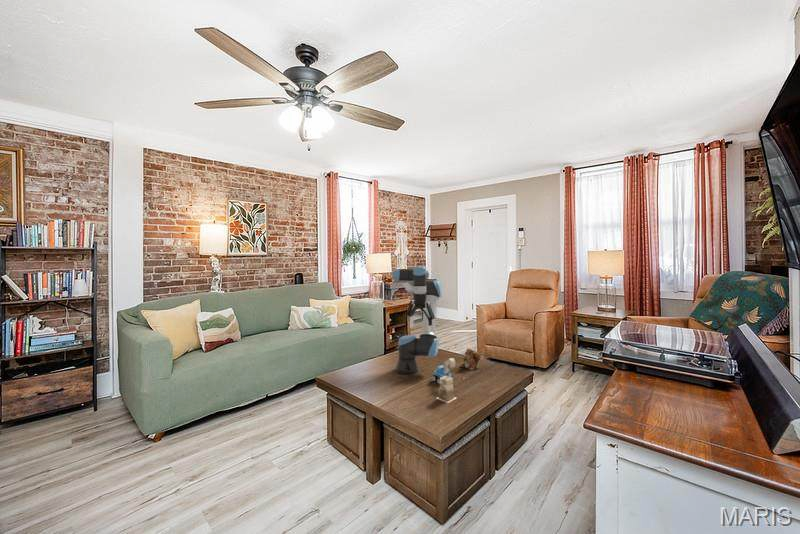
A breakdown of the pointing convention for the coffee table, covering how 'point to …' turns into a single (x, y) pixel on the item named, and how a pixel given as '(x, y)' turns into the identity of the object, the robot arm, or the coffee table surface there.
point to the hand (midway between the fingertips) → (420, 329)
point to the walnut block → (446, 395)
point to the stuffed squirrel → (471, 359)
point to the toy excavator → (443, 370)
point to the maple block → (446, 383)
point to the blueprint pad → (446, 401)
